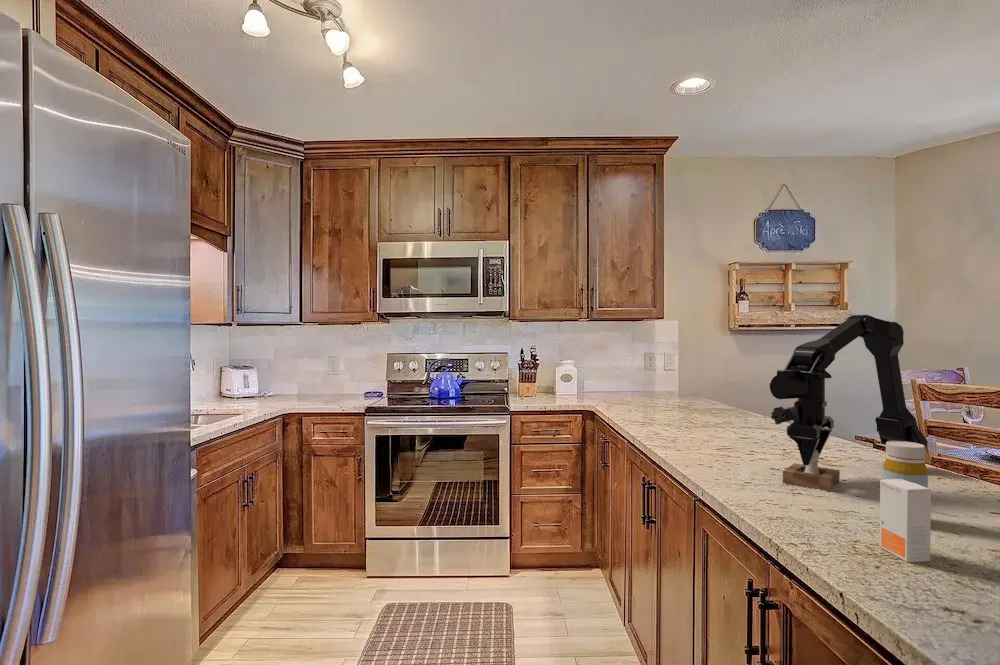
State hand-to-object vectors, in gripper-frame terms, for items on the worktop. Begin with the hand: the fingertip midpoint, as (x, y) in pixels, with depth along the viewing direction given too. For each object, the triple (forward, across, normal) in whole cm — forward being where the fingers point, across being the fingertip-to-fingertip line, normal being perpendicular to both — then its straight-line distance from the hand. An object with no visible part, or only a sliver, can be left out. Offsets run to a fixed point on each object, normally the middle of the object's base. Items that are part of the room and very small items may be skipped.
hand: (810, 461), depth 132 cm
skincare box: (+5, +36, +22) cm, 43 cm away
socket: (+5, 0, 0) cm, 5 cm away
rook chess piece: (+6, 0, 0) cm, 6 cm away
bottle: (+5, +16, +20) cm, 26 cm away
